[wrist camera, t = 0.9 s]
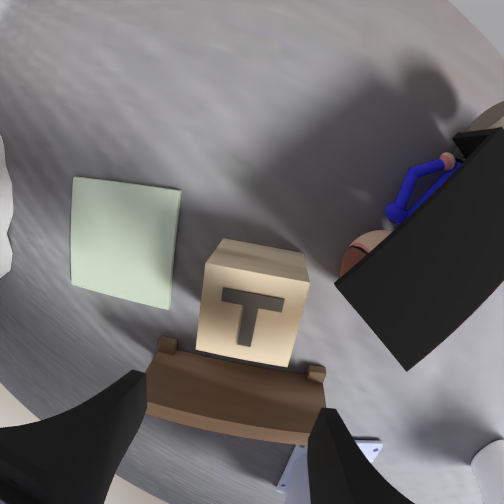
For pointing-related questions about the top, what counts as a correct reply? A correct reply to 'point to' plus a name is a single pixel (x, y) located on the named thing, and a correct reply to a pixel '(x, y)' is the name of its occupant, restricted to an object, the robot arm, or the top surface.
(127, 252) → the pad
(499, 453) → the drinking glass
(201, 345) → the letter cube
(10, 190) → the figurine
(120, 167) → the top surface
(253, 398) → the brown piece
